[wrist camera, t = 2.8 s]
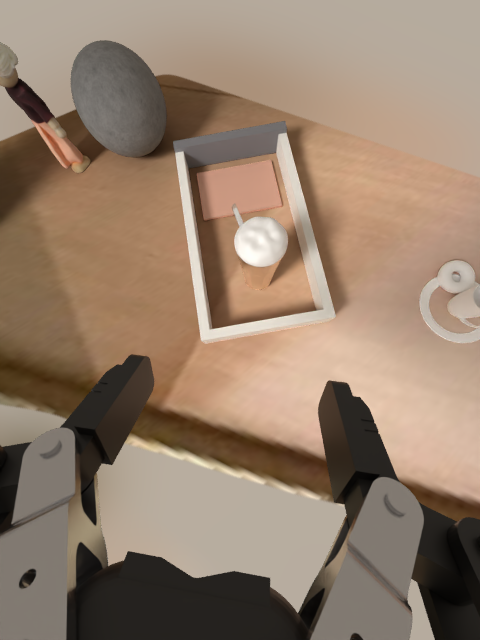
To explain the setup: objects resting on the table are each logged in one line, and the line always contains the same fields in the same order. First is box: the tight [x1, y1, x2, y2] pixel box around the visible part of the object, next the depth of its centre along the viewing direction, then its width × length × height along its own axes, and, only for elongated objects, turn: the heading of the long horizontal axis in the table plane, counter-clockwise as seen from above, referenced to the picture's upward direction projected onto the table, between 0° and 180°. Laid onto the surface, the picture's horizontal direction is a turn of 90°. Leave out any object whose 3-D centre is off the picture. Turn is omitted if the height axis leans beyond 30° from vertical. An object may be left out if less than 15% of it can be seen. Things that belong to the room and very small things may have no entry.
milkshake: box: [232, 204, 288, 290], centre depth 23 cm, size 4×5×10 cm
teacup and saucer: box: [419, 260, 480, 343], centre depth 25 cm, size 9×8×4 cm
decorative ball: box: [71, 41, 167, 157], centre depth 28 cm, size 10×10×10 cm
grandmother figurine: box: [0, 42, 90, 173], centre depth 26 cm, size 8×4×13 cm, turn 57°
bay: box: [173, 121, 336, 343], centre depth 28 cm, size 14×25×3 cm, turn 10°
